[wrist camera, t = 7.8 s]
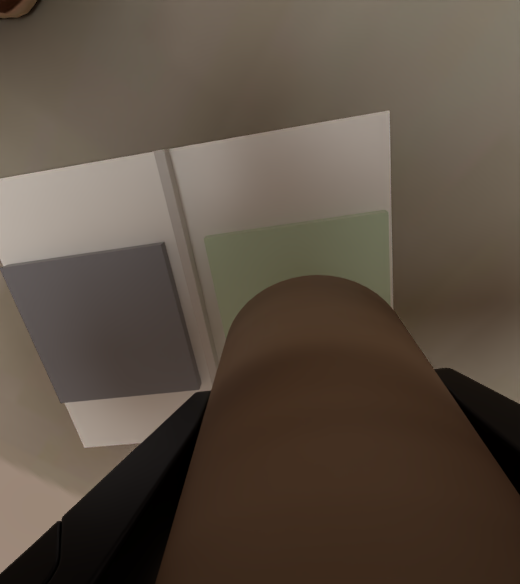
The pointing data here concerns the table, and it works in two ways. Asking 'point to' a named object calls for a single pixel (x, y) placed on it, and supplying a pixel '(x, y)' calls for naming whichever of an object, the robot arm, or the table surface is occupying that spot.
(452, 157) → the table surface
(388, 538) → the brown tapered cylinder
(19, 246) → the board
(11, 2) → the coffee cup
